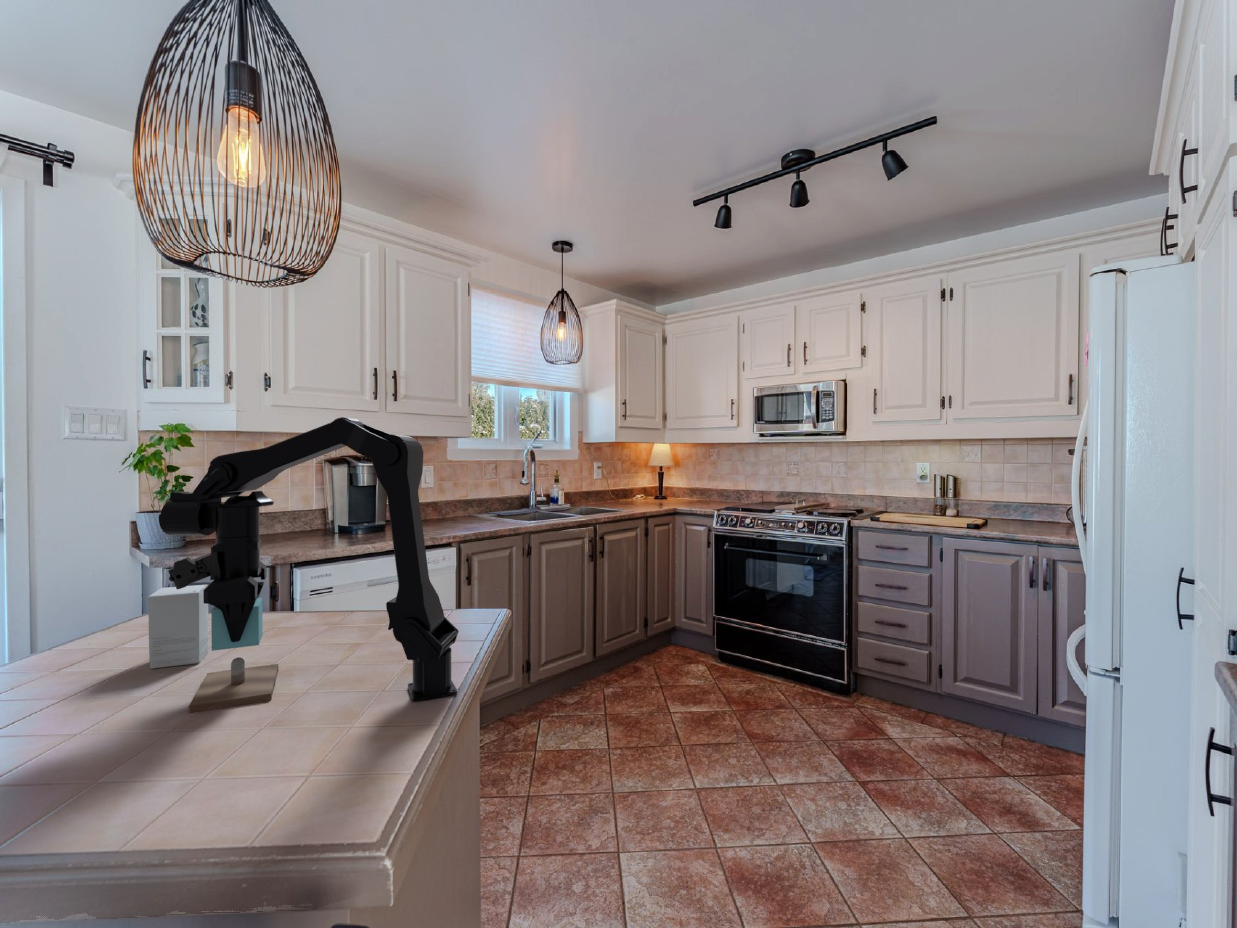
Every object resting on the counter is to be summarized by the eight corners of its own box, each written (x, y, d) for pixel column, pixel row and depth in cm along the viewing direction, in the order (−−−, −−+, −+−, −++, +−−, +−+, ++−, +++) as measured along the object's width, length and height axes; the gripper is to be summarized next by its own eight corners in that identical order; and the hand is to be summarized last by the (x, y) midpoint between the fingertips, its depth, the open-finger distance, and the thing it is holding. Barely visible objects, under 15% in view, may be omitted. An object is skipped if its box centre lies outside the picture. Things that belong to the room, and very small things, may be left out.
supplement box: (210, 651, 109) (210, 583, 109) (199, 664, 102) (199, 591, 102) (161, 656, 106) (161, 586, 106) (147, 669, 100) (146, 595, 100)
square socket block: (258, 645, 90) (258, 605, 90) (211, 650, 87) (211, 610, 87) (262, 634, 95) (262, 597, 95) (218, 639, 93) (218, 601, 93)
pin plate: (271, 699, 87) (271, 666, 87) (189, 712, 83) (189, 677, 83) (278, 669, 100) (278, 640, 100) (207, 679, 95) (207, 648, 95)
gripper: (187, 531, 96) (187, 627, 96) (157, 547, 79) (158, 662, 79) (266, 528, 101) (267, 618, 101) (254, 542, 84) (255, 650, 84)
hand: (238, 635), depth 91 cm, fingers closed on square socket block, 6 cm apart
